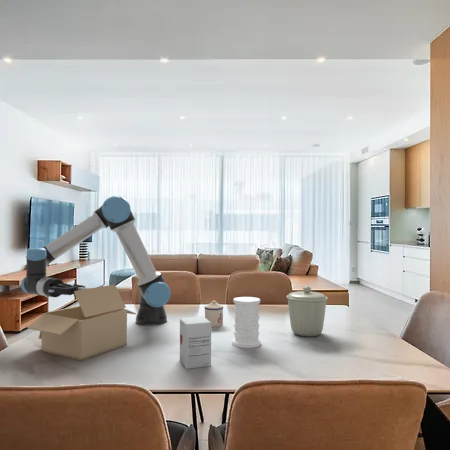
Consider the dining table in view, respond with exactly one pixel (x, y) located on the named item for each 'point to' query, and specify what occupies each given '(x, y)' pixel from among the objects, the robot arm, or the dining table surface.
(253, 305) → the decorative container
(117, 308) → the carton flap
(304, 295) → the canister
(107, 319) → the carton
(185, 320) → the supplement box
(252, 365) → the dining table surface
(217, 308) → the teacup with lid
